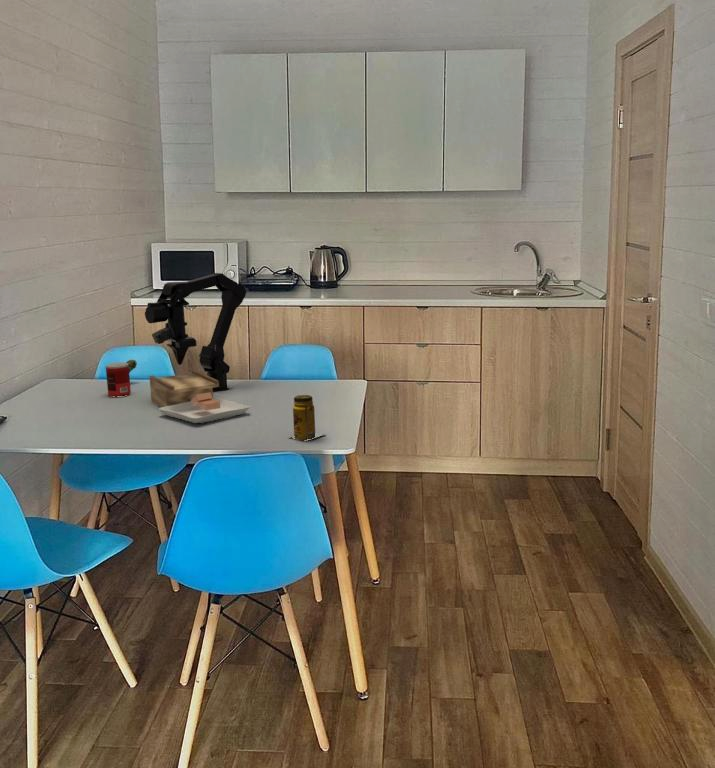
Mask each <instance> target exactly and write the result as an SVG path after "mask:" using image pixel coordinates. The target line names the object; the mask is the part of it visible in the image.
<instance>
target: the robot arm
mask: <svg viewBox="0 0 715 768" xmlns="http://www.w3.org/2000/svg"><path fill="white" fill-rule="evenodd" d="M212 287H216V289H217V291H220V292H221V296H220V298H221V304H222V306H221V308H220V313H219V314H218V315H219V316H218V318H217V321H216V323H215V327H214V329H213V332H212V336H211V339H210V342H209V344H208V345H202V346H201V351H200V353H199V355H198V357H199V361H198V362H199V364H200V366H201V367H202V368H203V370H204V372H206V375H207V376H209V377H211V378H214V379H216V380H218V381H219V387H214V388H212V390H213V392H217V391H218V392H219V391H225V390H229V389H230V387H228V380H227V379H228V377H227V375H228V374H229V373H230V368H231V366H230V365H229V364H228V363H226V362H225V361H224V360H225V349H224V346H225V343H226V340H227V337H228V334H229V331H230V328H231V324H232V322H233V318H234V315H235V312H236V310H237V309H238V308H239V307H240V306H241V305H242V304H243V302H244V300H245V297H246V295H247V290H246V287H245V285H243V284H242V283H238V282H237V281H235V280H233V279H231V278H229V277H228V276H226V275H225V274H224V273H222V272H213V273H211V274H208V275H204V276H201V277H198V278H194V279H189V280H187V281H171V282H168V281H167V282H166V283H164V284H163V287H162V291H161V293H160V295H159V297H158V298H157V301H156V302H147V307H146V308H145V311H144V317H145V318H144V319H145V320H146V321H147V323H149V324H156V323H163V322H165V324H164V325H165V327H164V328H161V329H159V330H157V331H155V332H153V333H151V337H152V339H153V342H154V343H155V344H158V345H161V344H163V343H166V341H167V342H168V344H166V346H167V347H169V348H170V349H171V350H172V353H173V355H174V357H175V361H176V363H177V365H178V366H180V365H182V364H183V363H184V359H185V357H186V354H187V351H188V349H189V348H193V347H194V348H195V347H197V344H198V343H197V340H196V339H195V338H194V337H192V336H189V334H187V330H186V326H188V322H187V321H186V318H185V308H184V307H185V306H189V305H190V302H188V301H187V300H186V298H187V297H188V296H190V295H191V294H193V293H196V292H198V291H203V290H205V289H210V288H212Z"/></svg>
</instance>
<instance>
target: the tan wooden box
mask: <svg viewBox="0 0 715 768" xmlns="http://www.w3.org/2000/svg"><path fill="white" fill-rule="evenodd" d="M149 387H150V388H149V389H150V399H151V400H150V401H152V402H151V403H153V402H154V403H155V405H156V404H157V405H156V406H158V405H159V406H160V407H159V406H158V407H159V408H161V407H166V406H171V405H175V404H180V403H185V402H190V401H191V399H192V398H193V397H195V396H196V395H198V394H203V393H209V392H211V395H212V398H214V396H213V395H214V393H213V392H214V391H213V390H212V388H214V387H219V381H218V380H216V379H214V378H211V377H209V376H207V374H204V373H202V372H199V371H198V370H196V369H193V370H191V373H183V374H176V375H175V374H174V375H169V376H168V375H167V376H161V377H156V376H154V375H149ZM154 403H153V404H154Z"/></svg>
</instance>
